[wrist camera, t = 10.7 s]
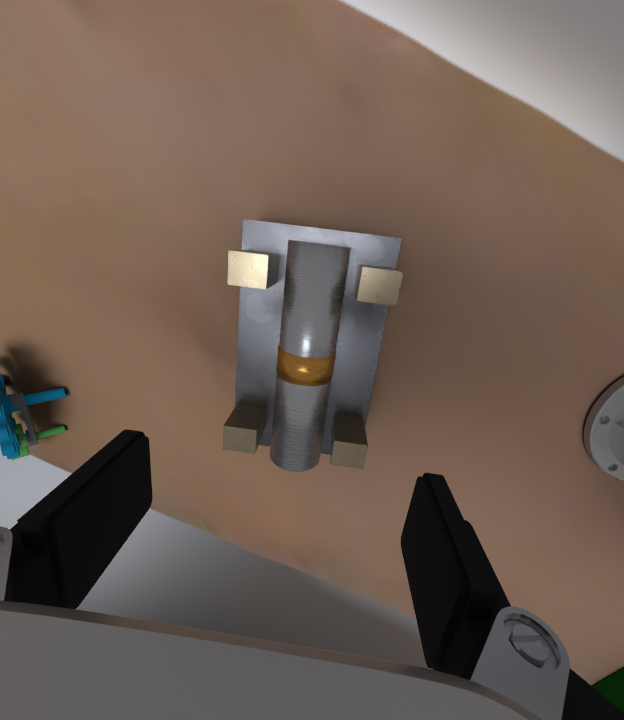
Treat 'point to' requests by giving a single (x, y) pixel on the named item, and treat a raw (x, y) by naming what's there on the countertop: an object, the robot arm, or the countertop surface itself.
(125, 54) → the countertop surface
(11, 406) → the gear
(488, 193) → the countertop surface
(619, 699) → the milk carton
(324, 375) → the tube
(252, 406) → the grey plate with feet
